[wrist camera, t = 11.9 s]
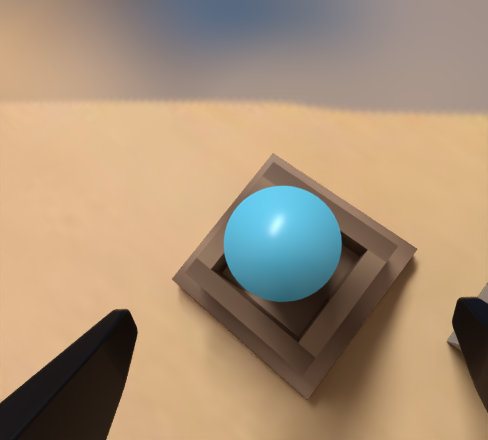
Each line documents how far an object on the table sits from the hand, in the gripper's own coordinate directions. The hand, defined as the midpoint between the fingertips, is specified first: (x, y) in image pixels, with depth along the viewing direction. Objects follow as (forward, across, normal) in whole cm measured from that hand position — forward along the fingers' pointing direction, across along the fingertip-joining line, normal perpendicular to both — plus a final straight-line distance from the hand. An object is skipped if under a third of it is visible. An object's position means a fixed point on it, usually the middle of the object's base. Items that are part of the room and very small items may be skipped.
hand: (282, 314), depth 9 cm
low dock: (+9, 0, +6) cm, 11 cm away
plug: (+8, 0, +5) cm, 10 cm away
